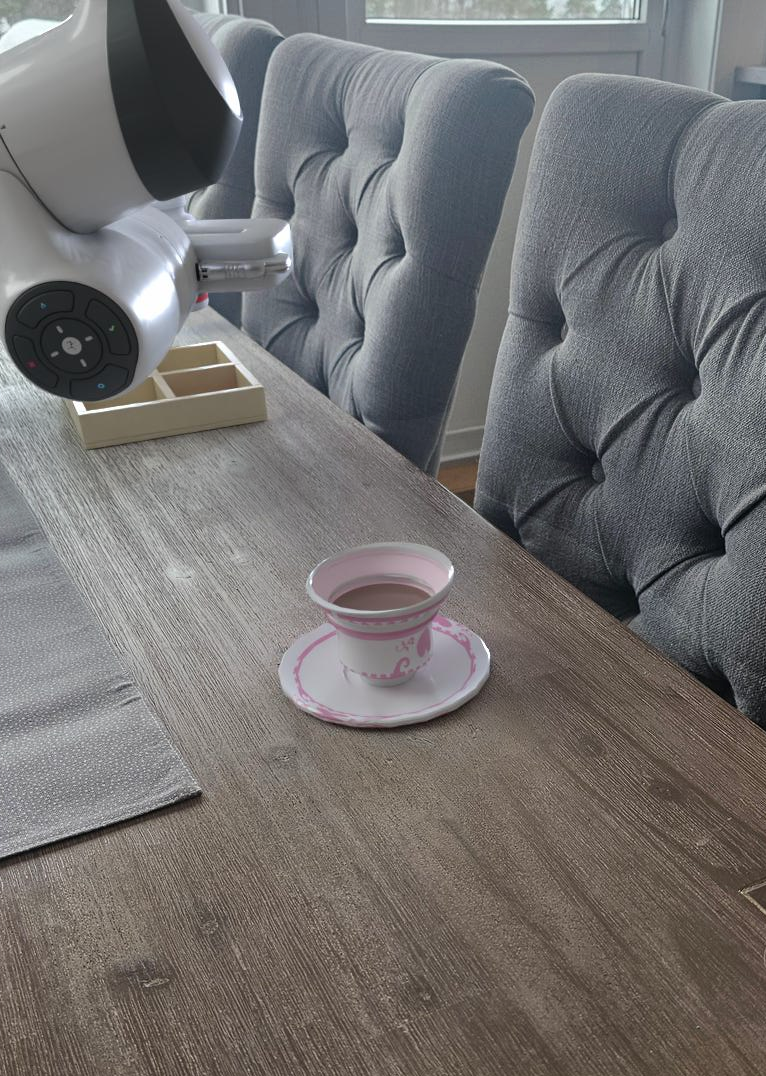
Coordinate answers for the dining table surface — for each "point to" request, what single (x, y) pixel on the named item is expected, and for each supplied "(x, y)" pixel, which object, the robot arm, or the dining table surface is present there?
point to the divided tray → (176, 399)
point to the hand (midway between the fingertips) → (165, 232)
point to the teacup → (383, 641)
